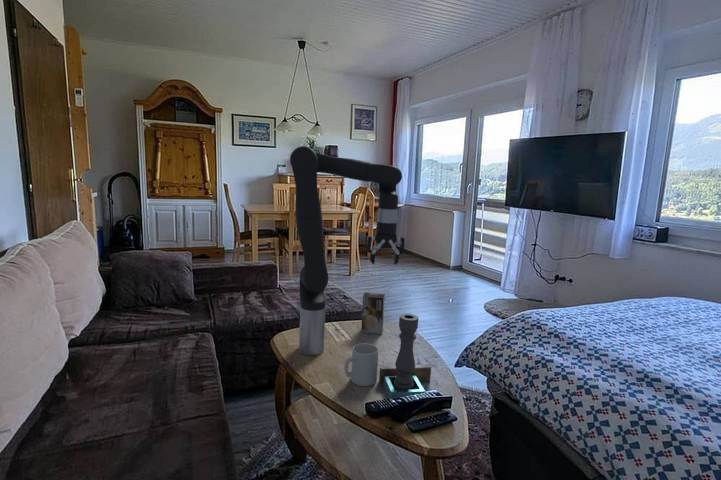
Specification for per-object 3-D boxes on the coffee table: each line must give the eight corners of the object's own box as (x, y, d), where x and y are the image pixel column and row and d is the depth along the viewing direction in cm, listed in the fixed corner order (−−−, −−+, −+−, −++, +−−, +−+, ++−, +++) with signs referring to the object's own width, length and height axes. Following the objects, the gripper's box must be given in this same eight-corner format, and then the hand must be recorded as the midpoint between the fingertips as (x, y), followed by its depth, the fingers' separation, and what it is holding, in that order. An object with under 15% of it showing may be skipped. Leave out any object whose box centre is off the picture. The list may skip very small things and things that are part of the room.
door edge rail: (380, 384, 131) (381, 368, 130) (378, 380, 133) (379, 365, 132) (430, 382, 134) (431, 367, 133) (428, 379, 136) (429, 364, 135)
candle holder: (413, 388, 129) (419, 314, 125) (412, 399, 123) (419, 321, 119) (393, 386, 130) (399, 312, 126) (392, 396, 124) (398, 319, 120)
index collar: (390, 403, 120) (391, 392, 120) (383, 385, 130) (383, 375, 130) (424, 401, 122) (425, 391, 121) (414, 384, 132) (414, 374, 132)
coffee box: (383, 329, 177) (385, 293, 174) (381, 334, 171) (384, 298, 168) (362, 326, 179) (364, 291, 176) (360, 332, 172) (362, 296, 170)
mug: (366, 371, 139) (368, 341, 137) (381, 382, 132) (384, 350, 130) (337, 379, 132) (338, 348, 130) (351, 392, 125) (353, 359, 123)
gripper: (370, 221, 144) (367, 265, 147) (408, 222, 146) (405, 266, 149) (366, 218, 151) (363, 261, 154) (403, 220, 154) (399, 261, 156)
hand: (384, 263), depth 151 cm, fingers open, 8 cm apart
